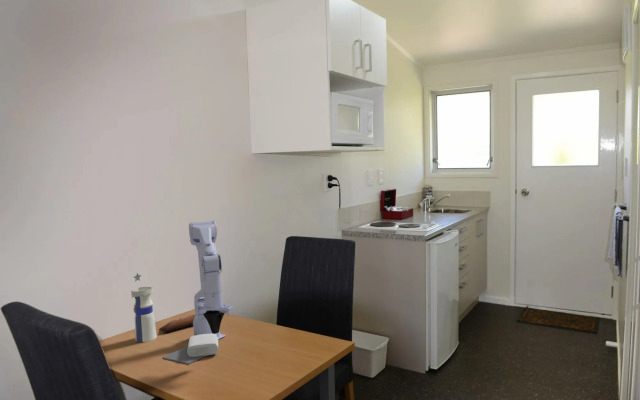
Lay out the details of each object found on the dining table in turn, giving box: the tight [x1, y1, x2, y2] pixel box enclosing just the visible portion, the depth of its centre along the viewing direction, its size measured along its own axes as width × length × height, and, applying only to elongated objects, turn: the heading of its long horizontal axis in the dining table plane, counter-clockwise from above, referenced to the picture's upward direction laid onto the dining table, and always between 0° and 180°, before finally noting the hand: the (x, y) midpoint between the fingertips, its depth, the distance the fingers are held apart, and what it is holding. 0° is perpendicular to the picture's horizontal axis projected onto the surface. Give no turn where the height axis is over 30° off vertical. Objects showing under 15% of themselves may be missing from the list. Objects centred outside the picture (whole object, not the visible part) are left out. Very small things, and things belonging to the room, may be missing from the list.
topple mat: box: [162, 345, 208, 365], centre depth 162 cm, size 12×12×1 cm
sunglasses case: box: [158, 314, 196, 335], centre depth 193 cm, size 18×7×7 cm, turn 132°
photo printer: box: [187, 334, 219, 357], centre depth 164 cm, size 10×4×12 cm
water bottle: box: [130, 272, 158, 343], centre depth 180 cm, size 8×8×25 cm
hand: (215, 332), depth 155 cm, fingers closed
